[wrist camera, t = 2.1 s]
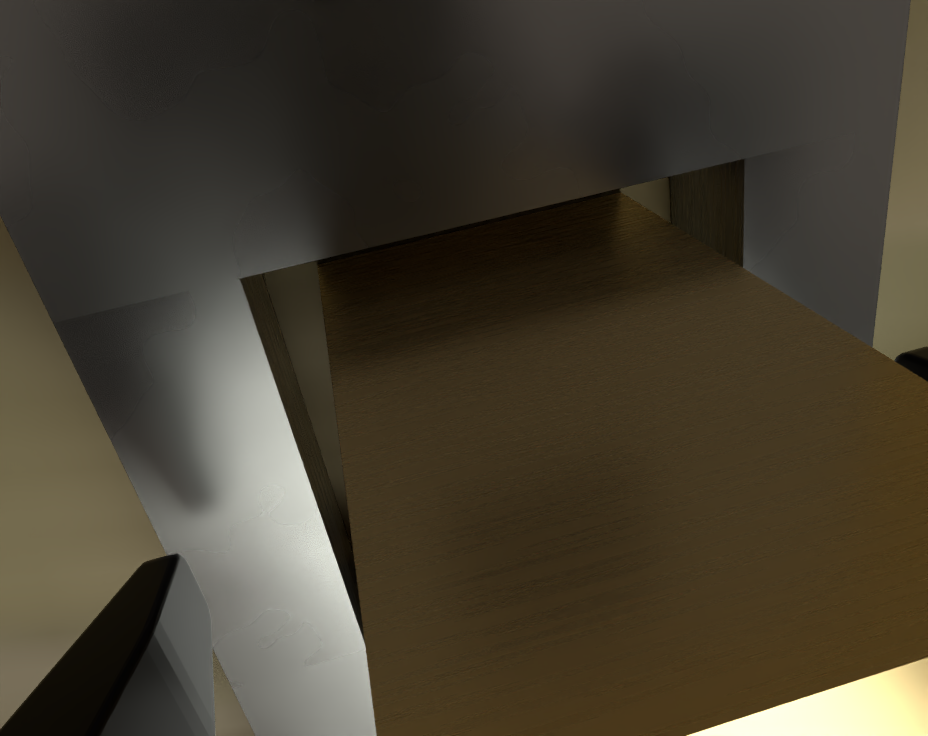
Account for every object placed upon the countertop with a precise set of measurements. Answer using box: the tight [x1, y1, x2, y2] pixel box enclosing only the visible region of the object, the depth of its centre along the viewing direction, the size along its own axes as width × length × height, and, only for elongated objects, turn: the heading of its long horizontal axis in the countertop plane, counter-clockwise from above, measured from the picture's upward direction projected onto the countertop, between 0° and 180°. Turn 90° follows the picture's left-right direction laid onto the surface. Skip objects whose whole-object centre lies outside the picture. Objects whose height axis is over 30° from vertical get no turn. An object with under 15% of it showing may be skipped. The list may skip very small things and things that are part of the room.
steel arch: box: [0, 0, 911, 736], centre depth 11 cm, size 10×20×2 cm, turn 10°
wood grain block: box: [317, 193, 928, 736], centre depth 8 cm, size 4×4×8 cm
